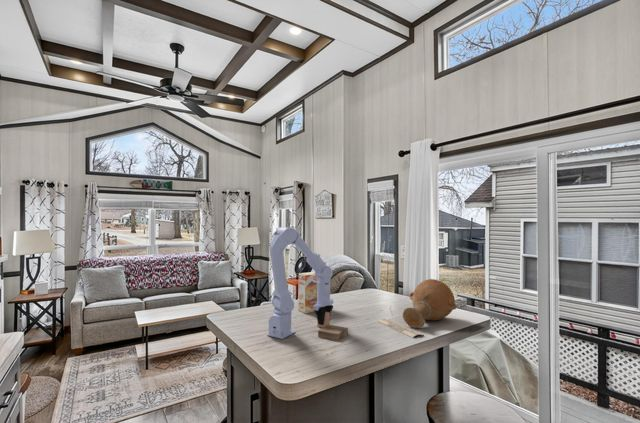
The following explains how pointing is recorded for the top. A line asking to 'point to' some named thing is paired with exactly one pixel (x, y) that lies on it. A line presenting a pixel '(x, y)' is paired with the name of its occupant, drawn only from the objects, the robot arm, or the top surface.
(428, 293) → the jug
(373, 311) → the top surface
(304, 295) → the coffeecake box
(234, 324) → the top surface
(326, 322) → the terracotta block
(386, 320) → the newspaper
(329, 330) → the walnut base block
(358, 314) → the top surface
